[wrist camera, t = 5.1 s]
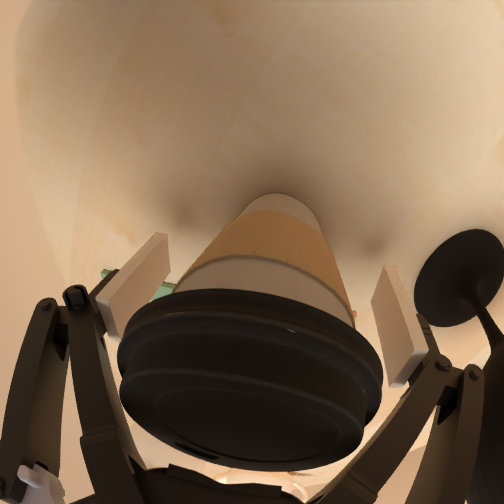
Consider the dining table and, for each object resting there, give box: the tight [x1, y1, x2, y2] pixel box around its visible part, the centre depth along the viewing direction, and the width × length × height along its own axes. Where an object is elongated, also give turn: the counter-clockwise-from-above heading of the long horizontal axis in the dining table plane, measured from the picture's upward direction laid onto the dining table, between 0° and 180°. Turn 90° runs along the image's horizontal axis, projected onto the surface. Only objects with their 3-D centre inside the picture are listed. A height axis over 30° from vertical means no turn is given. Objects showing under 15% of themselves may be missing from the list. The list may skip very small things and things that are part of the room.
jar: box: [129, 421, 206, 474], centre depth 29 cm, size 11×10×15 cm
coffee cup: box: [117, 193, 383, 472], centre depth 14 cm, size 9×9×15 cm
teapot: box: [213, 468, 308, 503], centre depth 45 cm, size 25×16×12 cm, turn 85°
